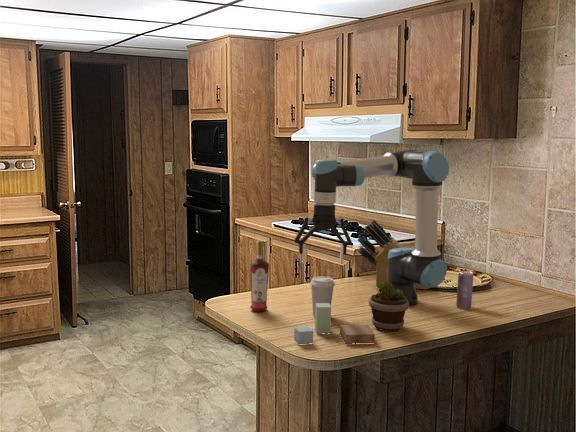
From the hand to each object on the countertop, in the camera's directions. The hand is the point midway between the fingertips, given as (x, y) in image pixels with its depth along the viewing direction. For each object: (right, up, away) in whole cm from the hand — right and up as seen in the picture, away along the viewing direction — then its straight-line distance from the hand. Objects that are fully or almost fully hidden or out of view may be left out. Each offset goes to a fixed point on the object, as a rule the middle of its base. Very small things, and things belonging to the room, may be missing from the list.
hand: (322, 263), depth 224 cm
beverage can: (+61, -21, +38) cm, 74 cm away
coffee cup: (+1, -22, +21) cm, 31 cm away
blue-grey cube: (-7, -27, -9) cm, 29 cm away
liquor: (-24, -21, +27) cm, 41 cm away
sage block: (0, -25, +3) cm, 25 cm away
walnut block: (+12, -27, -4) cm, 29 cm away
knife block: (+37, -16, +70) cm, 81 cm away
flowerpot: (+25, -25, +10) cm, 36 cm away
